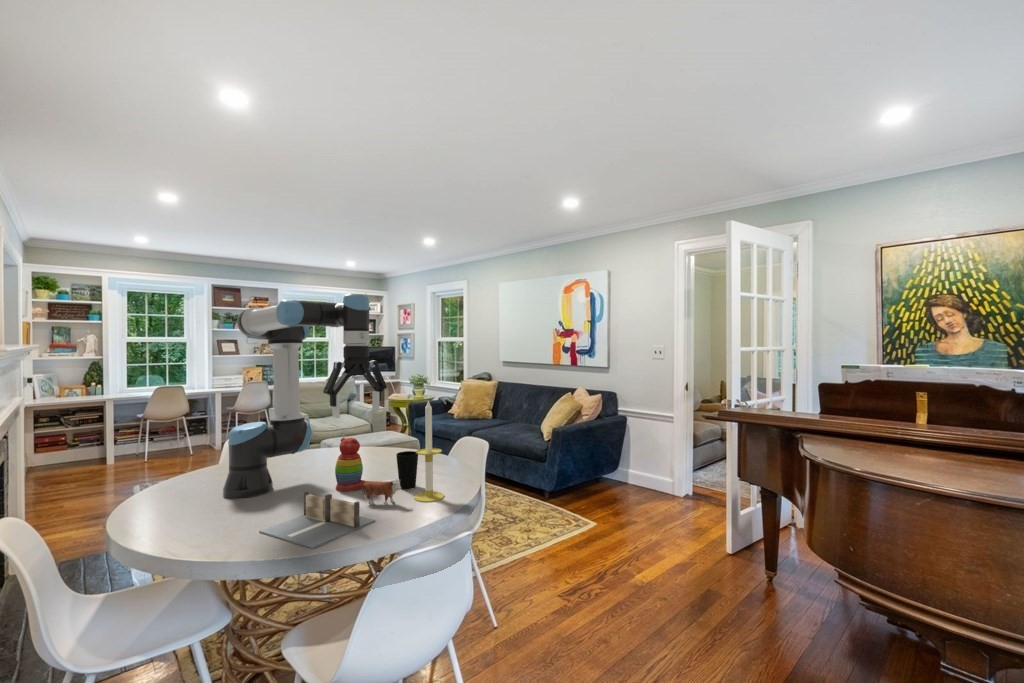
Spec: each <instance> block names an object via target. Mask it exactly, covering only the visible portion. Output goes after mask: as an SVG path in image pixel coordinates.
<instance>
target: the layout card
mask: <svg viewBox="0 0 1024 683" xmlns="http://www.w3.org/2000/svg"><path fill="white" fill-rule="evenodd" d="M374 522H376V519H373V518H369V517H366V516H362V515H360V527H353V526H349V525H345V524H341V523H337V522H333V521H329V522H326V521H325V520H320V519H317V518H313V517H309V516H304V514H302V515H299V516H296V517H293V518H291V519H288V520H284V521H282V522H280V523H277V524H275V525H272V526H269V527H266V528H263V529H261V530H259V531H258V532H259V533H260V534H262V535H267V536H270V537H273V538H276V539H280V540H282V541H285V542H289V543H291V542H292V544H296V545H298V546H300V547H305V548H308V549H311V550H314V549H317V548H318V547H320V546H323V545H325V544H328V543H329V542H332V541H334V540H336V539H339V538H341V537H343V536H345V535H348V534H350V533H351V532H354V531H357V530H359V529H361V528H363V527H366V526H368V525H370V524H372V523H374Z"/></svg>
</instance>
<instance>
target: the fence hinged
mask: <svg viewBox="0 0 1024 683" xmlns="http://www.w3.org/2000/svg"><path fill="white" fill-rule="evenodd" d="M360 505H361V504H360V501H354V502H351V501H346V500H344V499H338V498H332V499H331V500H330V519H331V521H333V522H337V523H341V524H345V525H349V526H353V527H360V516H361V515H360V512H361V511H360V510H361V508H360Z"/></svg>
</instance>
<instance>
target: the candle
mask: <svg viewBox="0 0 1024 683" xmlns="http://www.w3.org/2000/svg"><path fill="white" fill-rule="evenodd" d="M430 403H431V402H430V400H429V399H428V400H427V403H426V406H425V407H424V408H425V412H424V413H425V415H424V416H425V420H424V421H425V448H420V449H417V450H416V451H415V452H416V453H417V454H418V456H419V455H421V456H424V463H425V464H424V465H425V466H424V472H425V475H424V476H425V477H424V478H425V479H424V480H425V483H424V484H425V489H424V490H425V491H424V492H420V493H418V494H415V496H413V499H414V501H416V502H419V503H433V502H434V501H435V502H438V500H439V501H441V500H443V499H444V498H445V494H444V493H442V492H438V491H434V455H437V454H441V453H442V449H441V448H437V447H434V448H433V409H432V408H433V407H432V405H431V404H430Z"/></svg>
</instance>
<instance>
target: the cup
mask: <svg viewBox="0 0 1024 683" xmlns="http://www.w3.org/2000/svg"><path fill="white" fill-rule="evenodd" d="M395 456H396V463H397V464H396V466H397V473H398V481H399V480H401V481H400V486H401V489H400V490H403V489H409V490H412V488H413V489H415V488H416V486H417V475H418V474H417V473H418V464H419V463H418V461H419V454H417V453H416V451H413V450H406V451H399V452H397V453H396V455H395Z"/></svg>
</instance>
